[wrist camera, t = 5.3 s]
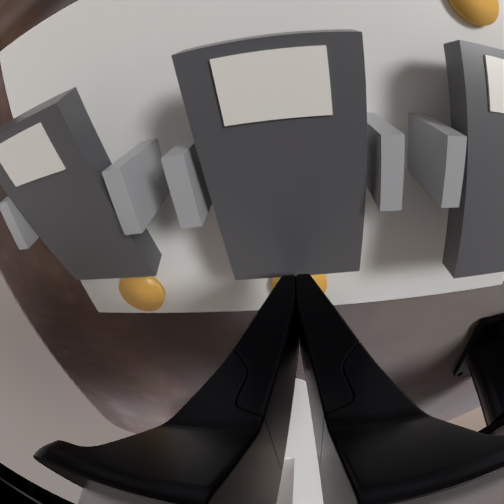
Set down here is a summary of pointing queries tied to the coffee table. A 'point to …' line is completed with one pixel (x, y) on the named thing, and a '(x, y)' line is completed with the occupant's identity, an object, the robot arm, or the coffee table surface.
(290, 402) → the robot arm
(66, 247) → the switch
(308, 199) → the switch
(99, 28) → the switch panel
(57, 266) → the coffee table surface
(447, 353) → the coffee table surface
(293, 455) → the cylinder with rectangular tab
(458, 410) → the coffee table surface
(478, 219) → the switch
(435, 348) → the coffee table surface
